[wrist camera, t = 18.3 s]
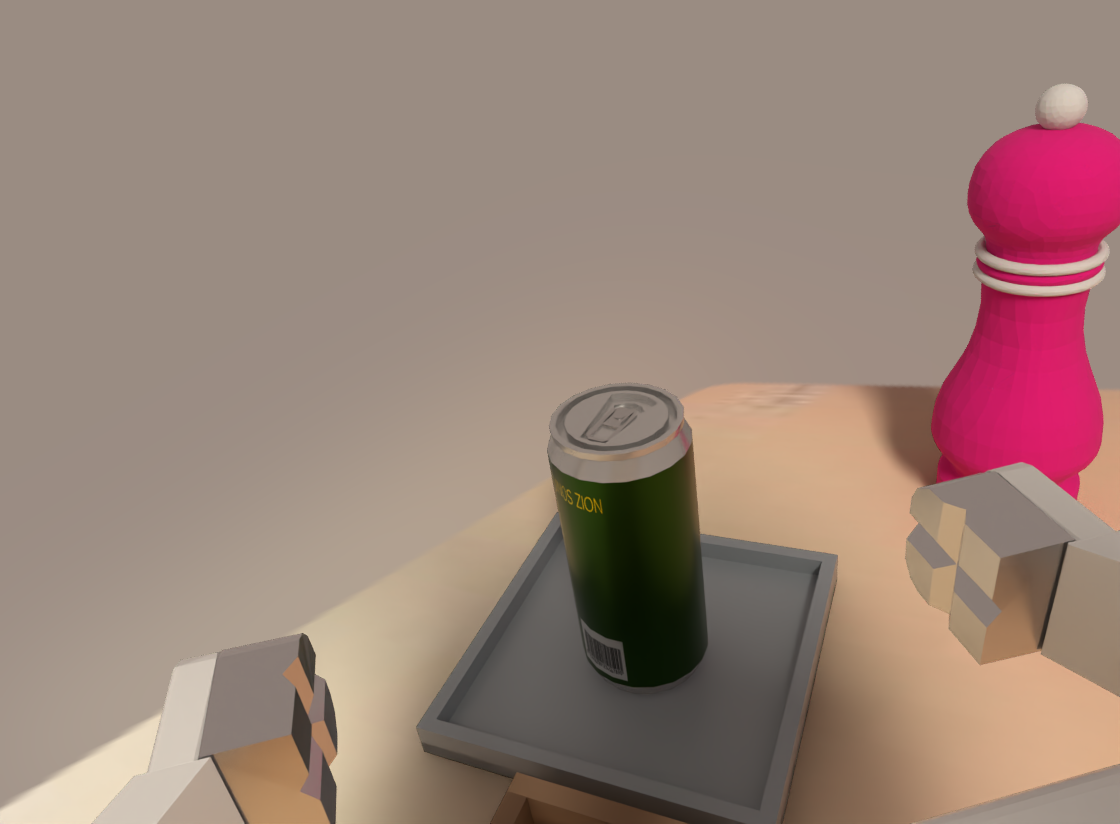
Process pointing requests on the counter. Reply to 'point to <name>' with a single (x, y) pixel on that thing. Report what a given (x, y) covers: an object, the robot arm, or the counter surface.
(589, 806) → the can holder
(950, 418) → the pepper mill
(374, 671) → the counter surface
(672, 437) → the beer can
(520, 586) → the tray
